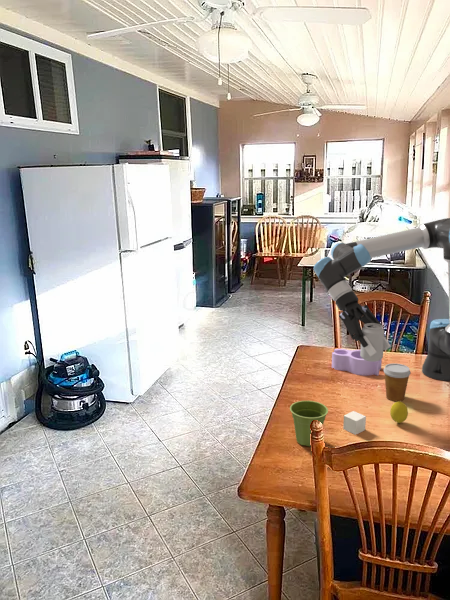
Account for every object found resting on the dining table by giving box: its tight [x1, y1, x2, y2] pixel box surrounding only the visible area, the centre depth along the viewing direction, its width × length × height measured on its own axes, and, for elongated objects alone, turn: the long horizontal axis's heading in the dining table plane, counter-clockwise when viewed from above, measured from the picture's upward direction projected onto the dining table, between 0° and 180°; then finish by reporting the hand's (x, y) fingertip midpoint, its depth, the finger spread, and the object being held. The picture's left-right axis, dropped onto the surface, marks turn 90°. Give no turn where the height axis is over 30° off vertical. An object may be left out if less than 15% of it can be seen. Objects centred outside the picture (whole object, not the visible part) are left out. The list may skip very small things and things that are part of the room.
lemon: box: [389, 401, 409, 424], centre depth 166 cm, size 6×6×8 cm
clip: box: [331, 348, 383, 376], centre depth 212 cm, size 20×12×7 cm, turn 65°
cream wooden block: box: [342, 410, 367, 436], centre depth 163 cm, size 5×5×5 cm
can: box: [360, 323, 385, 362], centre depth 169 cm, size 8×8×12 cm
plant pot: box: [289, 400, 329, 447], centre depth 156 cm, size 12×12×11 cm
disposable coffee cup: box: [383, 362, 412, 402], centre depth 184 cm, size 10×10×12 cm
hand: (380, 351), depth 167 cm, fingers closed on can, 7 cm apart
